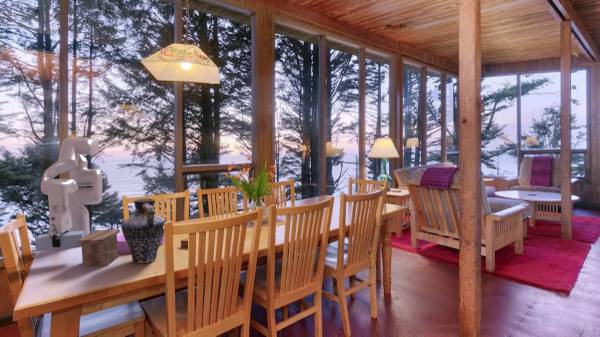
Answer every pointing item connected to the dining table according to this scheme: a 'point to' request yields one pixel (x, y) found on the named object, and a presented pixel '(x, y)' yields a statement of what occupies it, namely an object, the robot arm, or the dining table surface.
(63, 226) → the robot arm
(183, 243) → the carton
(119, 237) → the pink rectangular box
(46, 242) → the block
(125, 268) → the dining table surface
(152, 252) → the jug
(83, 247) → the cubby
